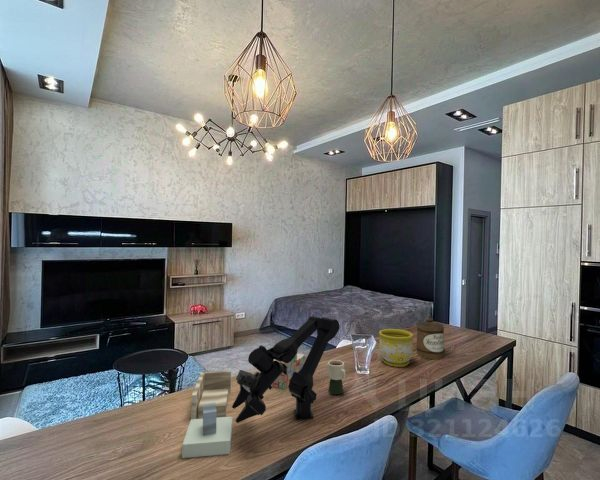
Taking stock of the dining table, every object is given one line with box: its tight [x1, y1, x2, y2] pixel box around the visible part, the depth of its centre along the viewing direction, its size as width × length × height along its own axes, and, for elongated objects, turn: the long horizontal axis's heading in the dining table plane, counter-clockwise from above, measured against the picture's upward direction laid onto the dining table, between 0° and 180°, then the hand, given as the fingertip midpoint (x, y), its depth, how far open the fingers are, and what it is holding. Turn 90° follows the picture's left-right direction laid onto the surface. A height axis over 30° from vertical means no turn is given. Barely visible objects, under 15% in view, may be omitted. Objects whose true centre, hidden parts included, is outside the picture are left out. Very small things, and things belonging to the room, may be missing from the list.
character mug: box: [326, 359, 346, 395], centre depth 138 cm, size 11×7×13 cm, turn 38°
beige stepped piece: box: [190, 369, 232, 420], centre depth 127 cm, size 22×13×9 cm, turn 9°
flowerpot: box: [378, 328, 414, 368], centre depth 174 cm, size 18×18×16 cm
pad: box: [181, 416, 234, 459], centre depth 103 cm, size 14×14×4 cm
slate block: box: [202, 403, 217, 436], centre depth 103 cm, size 6×4×7 cm, turn 18°
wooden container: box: [416, 317, 445, 360], centre depth 187 cm, size 15×15×22 cm
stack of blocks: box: [272, 352, 306, 390], centre depth 152 cm, size 21×6×12 cm, turn 153°
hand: (234, 414), depth 106 cm, fingers open, 9 cm apart
